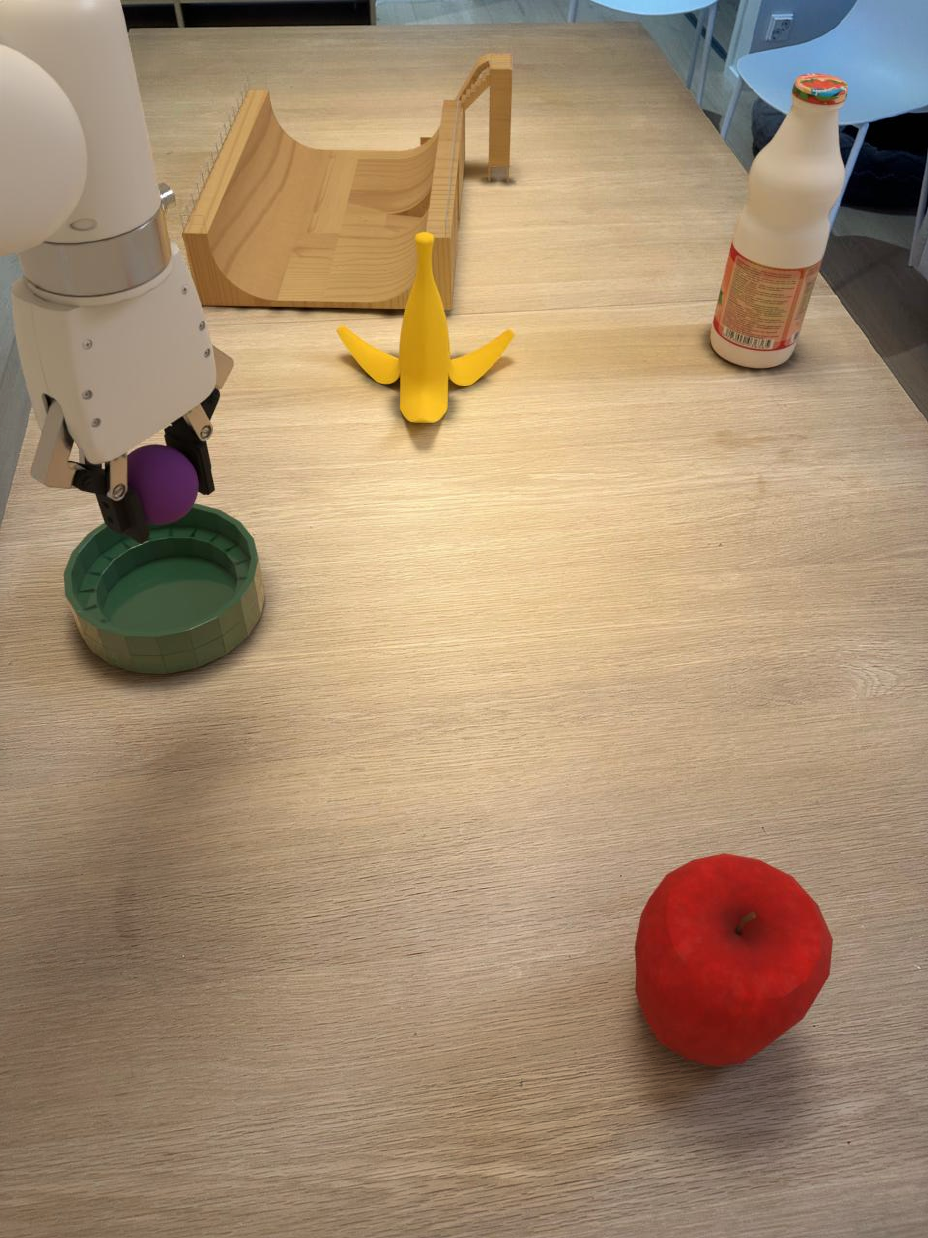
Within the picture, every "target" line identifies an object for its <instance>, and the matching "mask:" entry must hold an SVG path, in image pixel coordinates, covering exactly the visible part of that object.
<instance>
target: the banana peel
mask: <svg viewBox="0 0 928 1238" xmlns="http://www.w3.org/2000/svg"><path fill="white" fill-rule="evenodd" d="M415 243H416V248H417V273H416V277H415V281H414V284H413V287H412V289H411V292H410V295H409V298H408V301H407V305H406V308H405V309H404V313H403V316H402V317H403V318H402V323H401V328H400V336H399V346H398V347H399V349H398V357H397V356H394V355H392V354H390V353H386V352H385V351H382V350H380V349H379V348H376V347H375V346H373V345H372V344H370V343H369V342H368V341H366V340H364V339H362V338H361V337H360V336H358V335H357V334H356V333H354V332H353V331H352V330H351V329H350V328H349V327H347V326H346V325H344V324H341V325H339V327H338V328H337V329H336V334H337V335H338V337H339V338H340V340H341V341H342V343H343V345H344V346H345V348H346V349H347V350H348V351H349V353H350V354H351V356H352V357H353V359H354V360H355V361H356V362H357V364H358V365H359V366H360V367H361V368H362V369H363V370H364V371H365V372H366V373H367V374H368V375H369V376H370V377H371V378H372V379H373V380H374V381H375V382H376V383H378V384H382V385H391V384H394V383H395V382H397V381H398V380H399V379H400V380H399V381H400V382H399V383H400V387H399V388H400V389H399V390H400V391H399V397H400V398H399V410H400V412H401V414H402V415H403V417H404V418H405V419H406V420H407V421H408V422H410V423H416V424H417V423H422V424H432V423H436V422H438V421H439V420H441V418H443V417H444V415H445V414H446V412H447V411H448V408H449V406H448V404H449V402H448V401H449V380H450V381H451V382H452V383H453V384H455V385H457V386H460V387H468V386H471V385H473V384H474V383H476V382H477V381H478V380H479V379H481V378H482V377H483V376H484V375H485V374H486V373H487V372H488V371H489V370H490V369H491V368H492V367H493V366H494V364H495V363H497V361H498V360H499V359H500V357H502V355H503V354H504V352H505V351H506V349H507V348H508V347H509V345H510V344H511V342H512V341H513V339H514V337H515V336H516V335H515V332H514V331H512V329H510V328H507V329H506V330H504V331H503V332H502V333H501V334H499V335H498V336H497V337H495V338H493V339H492V340H491V341H489V342H487V343H486V344H483V346H481V347H479V348H477V349H475V350H473V351H471V352H468V353H467V354H464V355H462V356H461V355H460V356H459V357H456V358H452V359H451V343H450V334H449V328H448V321H447V316H446V312H445V310H444V308H443V304H442V301H441V297H440V294H439V292H438V289H437V286H436V284H435V281H434V277H433V273H432V248H433V243H434V236H433V235H432V234H430V233H427V232H421V233H418V234H416V236H415Z"/></svg>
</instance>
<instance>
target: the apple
mask: <svg viewBox="0 0 928 1238" xmlns="http://www.w3.org/2000/svg"><path fill="white" fill-rule="evenodd" d="M833 944H834V939H833V936H832V934H831V931H830V929H829V927H828V925H827V922H826V920H825V917H824V915H823V913H822V910H821V908H820V906H819V904H818V903H817V902H816V900H814V898H813V897H811V895H810V894H809V893H808V892H807V891H806V889H804V887H802V885H801V884H800V883H799V881H797V879H796V878H794V876H793V875H791V874H789V873H786V872H785V871H783V870H781V869H779V868H777V867H775V866H773V865H771V864H769V863H767V862H765V861H763V860H761V859H759V858H754V857H747V856H743V855H738V854H731V853H725V852H724V853H723V852H722V853H718V854H714V855H710V856H703V857H700V858H695V859H692V860H690V861H688V862H686V863H684V864H683V865H681V866H679V867H677V868H675V869H673V870H672V871H670V872H669V873H667V874H666V875H665V876H664V877H663V878H662V880H661V881H660V883H659V884H658V885H657V887H656V888H655V890H653V892H652V893H651V895H650V896H649V898H648V899H647V902H646V903H645V905H644V907H643V909H642V911H641V913H640V917H639V921H638V926H637V932H636V938H635V943H634V953H635V954H634V957H635V990H634V991H635V995H636V997H637V1000H638V1004H639V1007H640V1010H641V1014H642V1016H643V1017H642V1018H643V1019H644V1020H645V1022H646V1023H647V1025H648V1026H649V1028H650V1029H651V1032H653V1034H654V1036H655V1037H656V1038H657V1040H658V1041H659V1043H660V1044H661V1045H662V1046H665V1047H666V1048H668V1049H669V1050H671V1051H672V1052H674V1053H676V1054H677V1055H679V1056H680V1057H681V1058H683V1059H685V1060H687V1061H692V1062H696V1063H697V1064H698V1063H699V1064H701V1065H702V1064H703V1065H706V1066H710V1067H713V1068H715V1067H724V1066H725V1067H726V1066H734V1065H742V1064H743V1063H745V1062H746V1061H748V1060H750V1059H751V1058H752V1057H754V1056H755V1055H757V1054H758V1053H760V1052H762V1051H763V1050H764V1049H766V1048H767V1047H768V1046H769V1045H771V1044H772V1043H773V1042H775V1041H776V1040H778V1038H780V1037H781V1036H782V1035H784V1034H785V1033H787V1032H788V1031H789V1030H791V1029H792V1028H793V1027H794V1026H796V1025H798V1024H799V1023H800V1022H802V1020H804V1019H805V1017H806V1015H807V1013H808V1012H809V1010H810V1009H811V1007H812V1006H813V1004H814V1002H815V1000H817V997H818V995H819V994H820V992H821V990H822V989H823V987H824V986H825V984H826V982H827V980H828V978H829V977H830V975H831V966H832V965H831V964H832V956H833V955H832V954H833Z"/></svg>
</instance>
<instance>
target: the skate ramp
mask: <svg viewBox="0 0 928 1238" xmlns="http://www.w3.org/2000/svg"><path fill="white" fill-rule="evenodd" d="M492 40H493V41H494V40H496V41H497V40H504V41H505V40H506V41H511V39H510V38H491V41H492ZM493 48H496V49H497V48H498V49H499V48H501V49H509V52H504V53H503V52H502V53H501V52H492V49H493ZM489 49H490V52H488V53H486V54H484V55H483V56H481V57H479V58H478V60H477V61H476V62H475V63H474V65H473V68H472V69H471V71H470V73H469V75H468V76H467V78H466V79H465V81H464V83H463V84H462V86H461V88H460V90H459V92H458V93H457V95H456V97H455V98H454V99H443V102H442V111H441V117H440V123H439V126H438V128H437V130H436V131H435V133H434V134H433V135H432V136H420V137H419V140H420V141H419V146H417V147H414V148H410V149H407V150H406V149H405V150H370V149H369V150H368V149H367V150H366V149H365V150H364V149H320V148H315V147H314V148H313V147H310V146H307V145H304V144H302V143H300V142H299V141H298V140H296V139H295V138H293V137H292V136H290V135H289V134H288V133H287V132H286V130H284V128H283V127H282V125H281V124H280V123H279V121H278V119H277V118H276V115H275V113H274V110H273V106H272V101H271V96H270V89H255V88H254V89H253V88H252V89H251V88H248V87H250V86H251V83H263V81H258V80H257V81H253V80H252V81H251V80H249V79H250V77H249V75H250V74H246V77H245V79H244V81H243V83H242V85H241V88H240V89H239V91H238V94H237V96H236V98H235V100H234V103H233V104H232V107H231V108H230V111H229V113H228V115H227V117H226V119H225V121H224V123H223V126H222V127H221V130H220V131H219V134H218V136H217V138H216V140H215V142H214V145H213V146H212V148H211V150H210V152H209V155H208V157H207V159H206V161H205V163H204V165H203V167H202V170H201V172H200V174H199V176H198V178H197V180H196V181H195V184H194V186H193V188H192V191H191V193H190V194H189V197H188V199H187V201H186V203H185V205H184V207H183V209H182V211H181V214H180V216H179V218H180V223H181V228H182V232H181V236H182V240H183V244H184V248H185V252H186V257H187V261H188V266H189V267H188V268H189V272H190V274H191V277H192V279H193V281H194V284H195V287H196V290H197V293H198V296H199V299H200V302H201V305H202V306H218V307H220V306H221V307H222V306H224V307H225V306H226V307H227V306H228V307H272V308H273V307H275V308H277V307H279V308H280V307H282V308H283V307H284V308H286V307H287V308H329V309H331V308H334V309H336V308H337V309H338V308H339V309H381V310H383V309H384V310H405V308H406V305H407V301H408V298H409V295H410V292H411V289H412V287H413V284H414V281H415V277H416V273H417V248H416V243H415V236H416V234H418V233H421V232H427V233H430V234H432V235H433V236H434V243H433V248H432V273H433V277H434V281H435V284H436V286H437V289H438V292H439V294H440V297H441V301H442V304H443V308H444V311H452V309H453V298H454V288H455V287H454V285H455V276H456V275H455V274H456V264H457V263H456V262H457V252H458V241H459V240H458V237H459V227H460V220H461V219H460V218H461V209H462V208H461V207H462V197H463V187H464V186H463V185H464V175H465V161H466V111H467V109H469V107H470V106H471V105H473V104H474V102H475V101H477V99H478V98H479V97H480V96H482V94H483V93H484V92H485V91H486V90H487V89H488V88H489V113H488V114H489V116H488V117H489V123H488V182H491V175H492V174H491V173H492V168H506V183H509V182H510V181H509V179H510V164H511V134H512V133H511V131H512V101H513V100H512V99H513V97H512V96H513V69H514V68H513V67H514V66H513V65H514V64H513V63H514V62H513V61H514V53H513V52H511V46H508V47H507V46H503V47H502V46H490V48H489ZM483 71H484V72H483ZM264 75H265V76H264V77H265V78H267V76H266V73H264ZM480 76H481V77H480ZM246 80H247V85H246ZM265 84H266V85H268V83H267V80H265ZM243 86H244V89H245V90H244V91H242V89H243ZM239 95H241V98H240V100H238V97H239ZM236 102H237V103H236ZM240 102H241V104H240ZM235 103H236V104H237V106H236V109H235V108H234V105H235ZM239 105H240V106H239ZM232 111H233V112H232ZM231 112H232V113H233V115H232V117H230V116H231V115H230V114H231ZM236 112H237V113H236ZM233 118H234V119H233ZM227 120H229V121H228V122H229V123H228V126H227V125H226V122H227ZM232 120H233V121H232ZM231 122H232V123H231ZM226 126H227V127H226ZM229 127H230V128H229ZM223 129H224V131H225V132H224V135H223V136H222V131H223ZM228 129H229V130H228ZM227 131H228V132H227ZM219 136H220V137H219ZM224 137H225V139H224ZM219 138H220V141H221V142H220V143H219V145H217V141H218V139H219ZM223 139H224V141H223ZM220 146H221V148H220ZM214 148H216V151H215V153H214V155H213V150H214ZM219 148H220V149H219ZM216 154H217V156H216ZM210 156H211V162H210V164H209V165H208V160H209V158H210ZM215 157H216V158H215ZM214 159H215V160H214ZM211 165H212V166H211ZM205 166H206V168H207V171H206V173H205V175H204V173H203V171H204V169H205ZM210 167H211V169H210ZM206 176H207V177H206ZM200 177H201V178H202V181H201V184H200V186H199V185H198V181H199V179H200ZM205 178H206V180H205ZM202 184H203V185H202ZM195 187H197V192H196V194H195V197H194V196H193V192H194V190H195ZM201 187H202V188H201ZM200 189H201V190H200ZM197 196H198V197H197ZM190 198H191V199H192V203H191V205H190V207H189V209H188V202H189V200H190ZM196 198H197V199H196ZM192 206H193V208H192ZM191 208H192V210H191ZM185 209H186V211H187V213H186V214H184V211H185ZM189 212H190V213H189ZM182 216H183V217H184V216H185V218H184V220H183V217H182ZM187 217H188V219H187ZM186 219H187V221H186Z"/></svg>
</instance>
